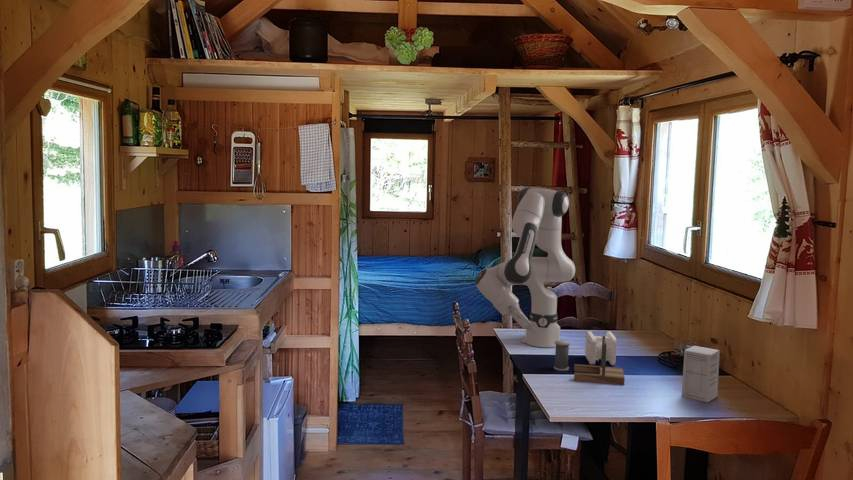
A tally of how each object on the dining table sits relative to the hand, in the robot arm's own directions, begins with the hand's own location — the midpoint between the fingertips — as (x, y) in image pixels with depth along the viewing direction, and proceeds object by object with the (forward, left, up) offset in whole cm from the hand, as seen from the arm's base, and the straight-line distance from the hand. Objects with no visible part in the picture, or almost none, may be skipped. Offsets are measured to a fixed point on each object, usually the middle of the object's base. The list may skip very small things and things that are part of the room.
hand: (531, 329), depth 268 cm
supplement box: (+17, +60, -16) cm, 64 cm away
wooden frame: (+5, +26, -15) cm, 31 cm away
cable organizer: (-17, +27, -16) cm, 36 cm away
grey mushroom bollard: (-3, +12, -16) cm, 20 cm away
